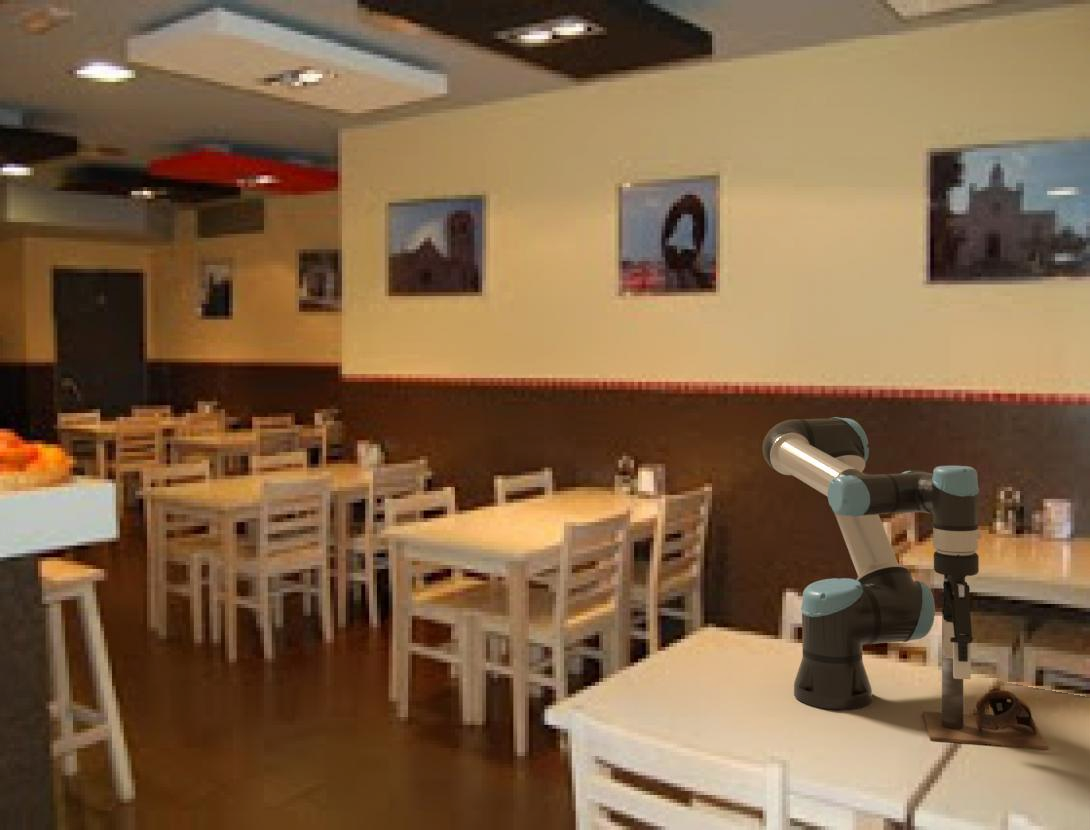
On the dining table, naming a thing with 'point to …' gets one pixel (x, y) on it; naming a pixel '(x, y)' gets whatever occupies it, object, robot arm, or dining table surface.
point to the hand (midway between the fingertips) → (956, 667)
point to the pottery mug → (1003, 711)
